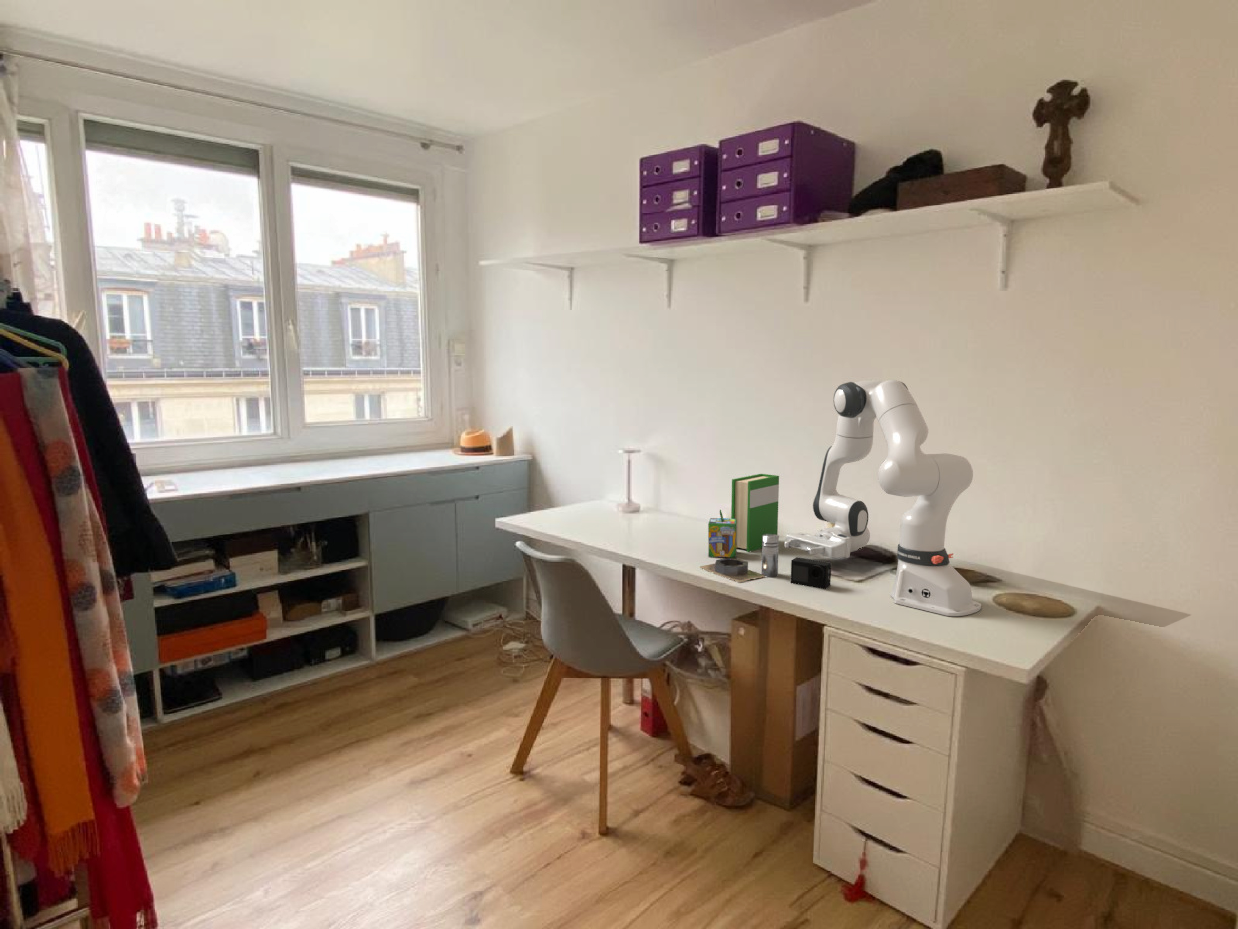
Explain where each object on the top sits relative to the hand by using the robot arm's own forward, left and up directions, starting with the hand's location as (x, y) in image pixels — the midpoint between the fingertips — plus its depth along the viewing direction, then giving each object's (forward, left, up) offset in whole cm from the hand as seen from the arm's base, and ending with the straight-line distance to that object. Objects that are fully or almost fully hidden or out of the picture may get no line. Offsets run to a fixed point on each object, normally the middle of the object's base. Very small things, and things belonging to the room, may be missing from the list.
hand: (797, 548), depth 225 cm
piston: (0, +11, -7) cm, 13 cm away
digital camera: (-14, +9, -7) cm, 18 cm away
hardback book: (+29, -10, -7) cm, 31 cm away
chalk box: (+26, +7, -7) cm, 28 cm away
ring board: (+8, +19, -7) cm, 22 cm away
